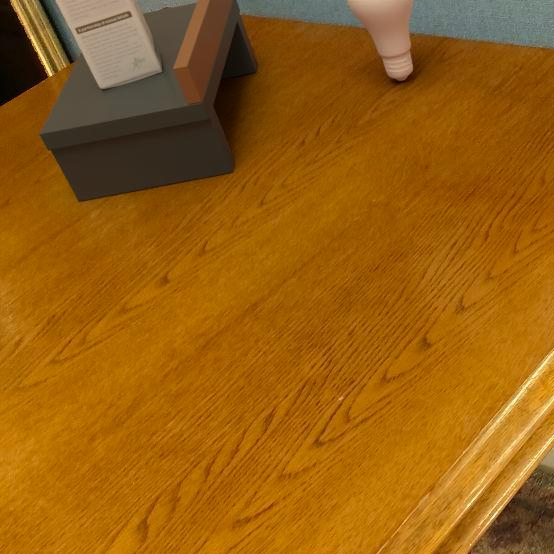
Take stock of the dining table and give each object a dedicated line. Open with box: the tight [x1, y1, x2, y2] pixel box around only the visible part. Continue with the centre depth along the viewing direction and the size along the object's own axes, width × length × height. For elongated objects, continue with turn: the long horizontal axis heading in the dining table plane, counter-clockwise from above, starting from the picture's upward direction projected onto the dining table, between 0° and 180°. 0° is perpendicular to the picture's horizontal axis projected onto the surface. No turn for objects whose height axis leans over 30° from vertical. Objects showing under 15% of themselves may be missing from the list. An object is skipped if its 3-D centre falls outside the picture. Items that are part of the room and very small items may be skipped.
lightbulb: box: [346, 0, 415, 82], centre depth 90 cm, size 6×6×11 cm
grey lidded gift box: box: [38, 0, 259, 202], centre depth 91 cm, size 14×23×10 cm, turn 5°
